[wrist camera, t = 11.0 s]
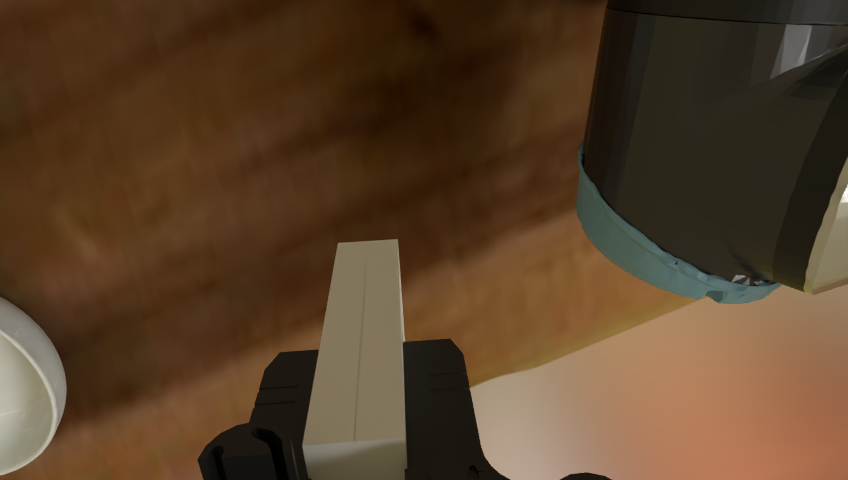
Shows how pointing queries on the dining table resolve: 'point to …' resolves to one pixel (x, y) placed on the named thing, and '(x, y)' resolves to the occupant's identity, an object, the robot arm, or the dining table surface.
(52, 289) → the dining table surface
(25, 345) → the serving bowl
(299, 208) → the dining table surface
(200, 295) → the dining table surface
